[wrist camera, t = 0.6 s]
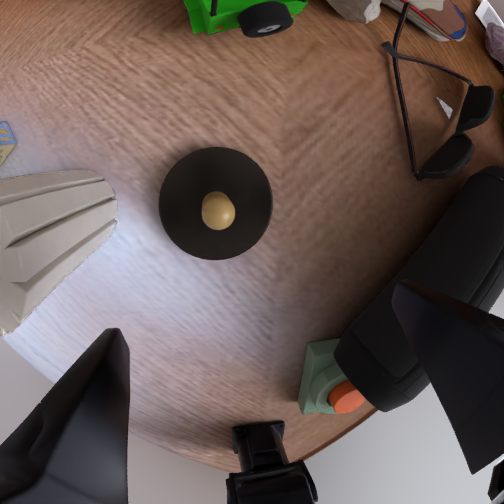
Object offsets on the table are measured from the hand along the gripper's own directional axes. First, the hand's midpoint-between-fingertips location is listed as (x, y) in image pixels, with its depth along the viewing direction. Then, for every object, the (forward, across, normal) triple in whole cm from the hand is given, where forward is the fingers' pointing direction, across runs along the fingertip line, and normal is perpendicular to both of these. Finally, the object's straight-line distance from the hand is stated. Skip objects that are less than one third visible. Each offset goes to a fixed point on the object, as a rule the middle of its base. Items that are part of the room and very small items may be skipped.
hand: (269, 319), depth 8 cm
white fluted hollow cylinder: (+14, +12, 0) cm, 19 cm away
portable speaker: (+13, -20, +9) cm, 25 cm away
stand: (+14, +1, +1) cm, 14 cm away
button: (+7, -9, +19) cm, 23 cm away
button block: (+11, -9, +20) cm, 24 cm away
